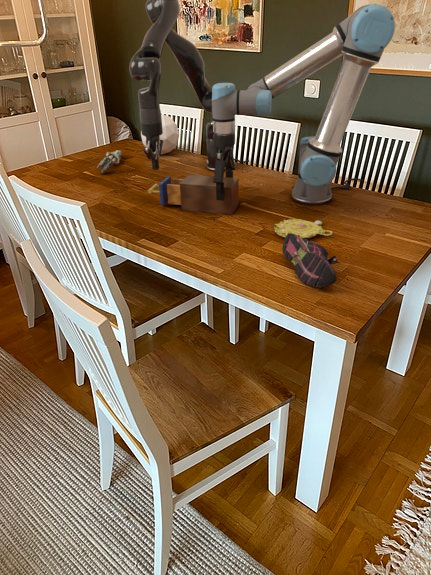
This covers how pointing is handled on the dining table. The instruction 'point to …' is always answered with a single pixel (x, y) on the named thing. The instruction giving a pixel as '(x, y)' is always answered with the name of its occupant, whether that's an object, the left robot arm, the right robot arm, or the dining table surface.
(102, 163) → the figurine
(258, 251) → the dining table surface
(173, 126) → the sphere
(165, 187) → the drawer
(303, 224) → the decorative object
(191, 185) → the cabinet
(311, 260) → the athletic shoe
